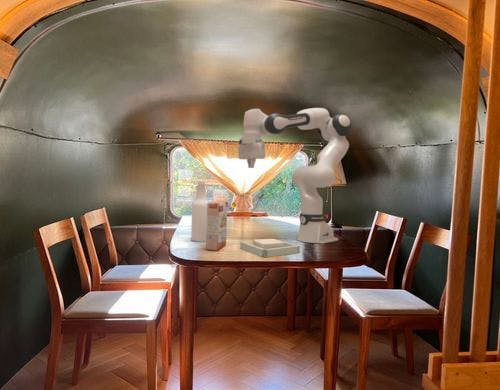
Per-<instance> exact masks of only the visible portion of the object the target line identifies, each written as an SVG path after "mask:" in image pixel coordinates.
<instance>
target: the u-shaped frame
mask: <svg viewBox="0 0 500 390" xmlns="http://www.w3.org/2000/svg"><path fill="white" fill-rule="evenodd" d="M274 239H275V240H277V241H280V242H283V243H284V247H280V248H271V249H263V248H260V247H257V246H254V245H253V244H251V243H248V242H245V241H240V243H239V249H240V248H241V249H240V250H243V251H245V250H246V252H248V253H251V254H254V255H256V256H259V257H262V258H264V259H265V258H270V257H278V256H288V255H294V254H300V251H301V247H300V245H297V244H293V243H291V242H288V241H284V240H280V239H276V238H274Z"/></svg>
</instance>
